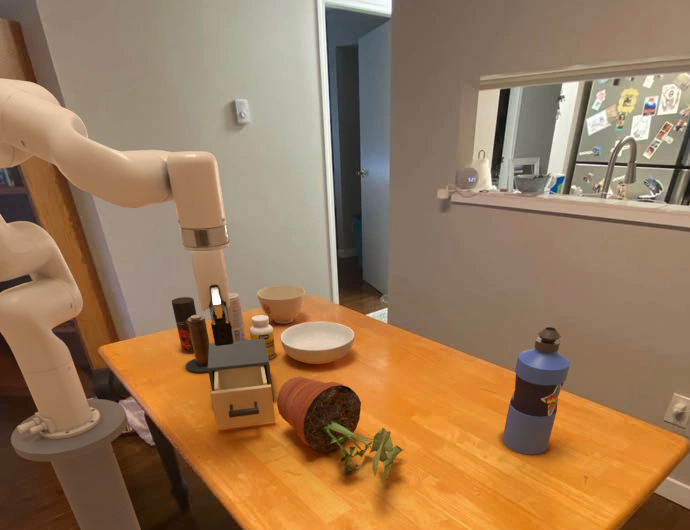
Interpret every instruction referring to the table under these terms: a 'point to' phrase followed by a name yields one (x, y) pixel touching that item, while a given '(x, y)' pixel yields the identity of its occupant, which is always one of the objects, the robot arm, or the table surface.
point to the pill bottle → (263, 333)
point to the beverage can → (236, 317)
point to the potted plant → (331, 420)
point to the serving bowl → (317, 341)
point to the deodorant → (184, 321)
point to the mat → (196, 367)
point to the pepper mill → (199, 339)
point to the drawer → (242, 397)
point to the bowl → (281, 302)
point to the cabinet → (238, 357)
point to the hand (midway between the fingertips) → (222, 334)
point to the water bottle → (536, 395)
